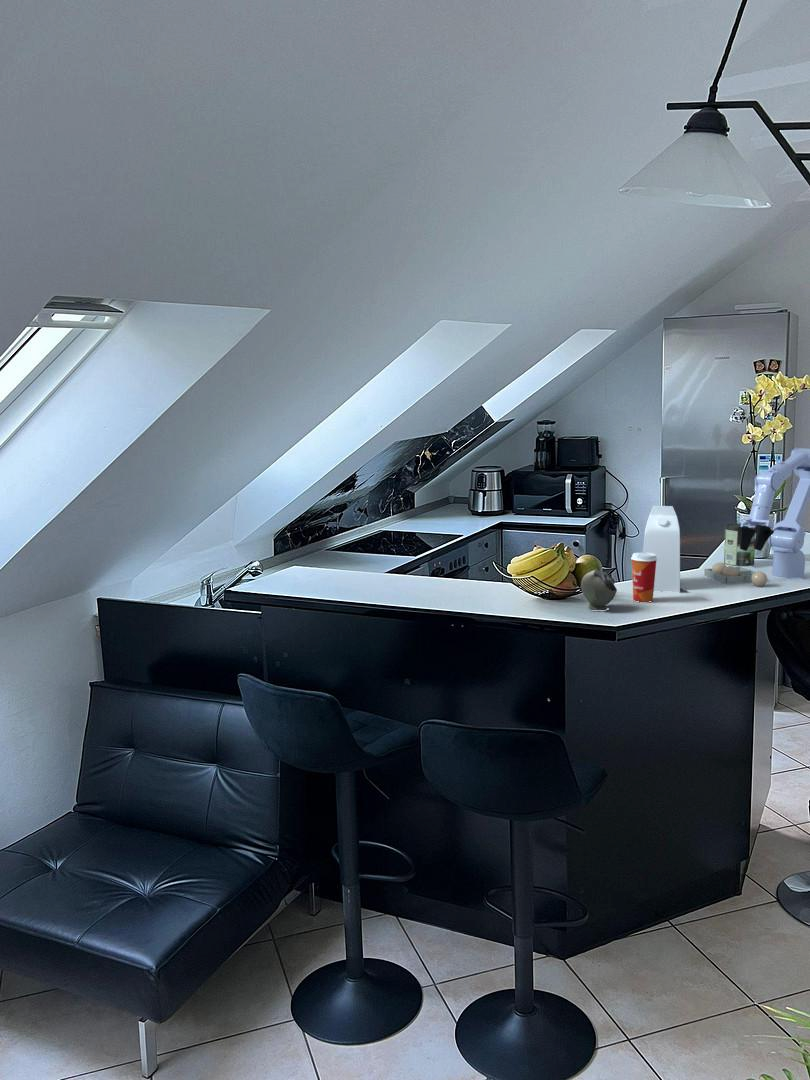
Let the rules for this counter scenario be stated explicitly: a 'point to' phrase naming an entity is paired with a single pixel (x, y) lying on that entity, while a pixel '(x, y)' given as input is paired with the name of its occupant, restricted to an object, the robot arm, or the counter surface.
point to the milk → (664, 547)
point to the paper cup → (643, 576)
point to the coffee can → (737, 548)
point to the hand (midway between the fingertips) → (750, 549)
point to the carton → (742, 577)
